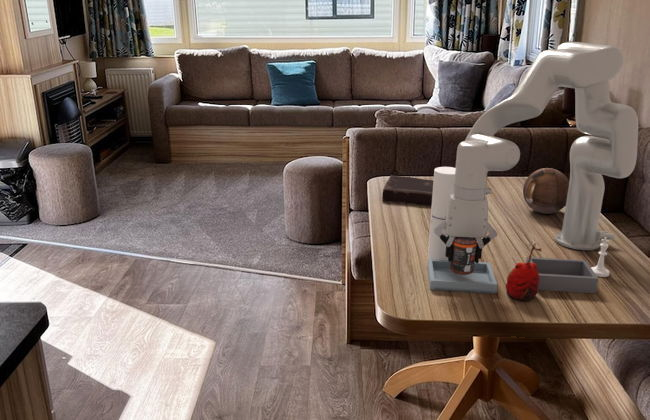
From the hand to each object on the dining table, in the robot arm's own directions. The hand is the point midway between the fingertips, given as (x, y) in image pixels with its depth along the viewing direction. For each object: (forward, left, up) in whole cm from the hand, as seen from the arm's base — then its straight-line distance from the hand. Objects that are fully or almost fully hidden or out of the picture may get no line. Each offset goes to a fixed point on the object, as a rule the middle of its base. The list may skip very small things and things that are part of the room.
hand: (462, 259), depth 159 cm
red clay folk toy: (-14, +7, -6) cm, 17 cm away
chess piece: (-37, -9, -6) cm, 39 cm away
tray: (0, 0, -6) cm, 6 cm away
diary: (+7, -67, -6) cm, 68 cm away
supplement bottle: (0, 0, -3) cm, 3 cm away
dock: (-25, -2, -6) cm, 26 cm away
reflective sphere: (-33, -56, -6) cm, 66 cm away
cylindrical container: (+4, -13, -6) cm, 15 cm away
